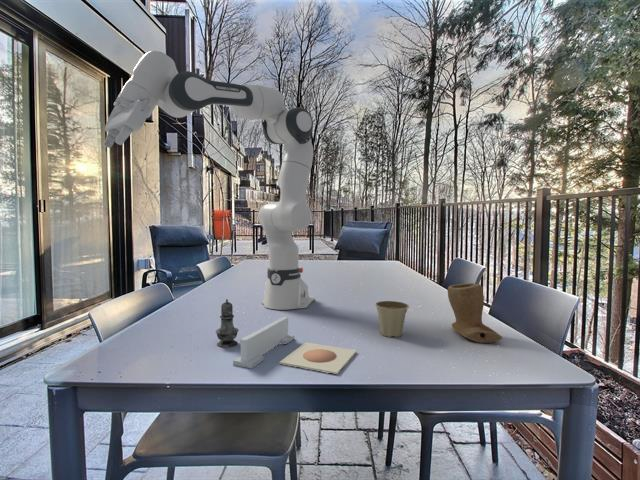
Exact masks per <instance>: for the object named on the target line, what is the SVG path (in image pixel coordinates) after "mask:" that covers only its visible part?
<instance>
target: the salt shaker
mask: <svg viewBox="0 0 640 480" xmlns="http://www.w3.org/2000/svg"><path fill="white" fill-rule="evenodd" d="M233 306H234V305H233V303H232V302H229V300H228V298H226V299H225V302H223V303H222V304H221V310H220V311H221V313H220V316H219V318H220V327H219V328H218V329H216V330H215V334H216V336H217V339H218V340H219V341H218V342H217V343H216V346H217V347H219V348H226V349H227V348H232V347H236V346H237V345H238V341H237V340H235V339H236V338H237V336H238V332H239V331H240V330H239V328H237V327H235V326H234V318H235V315H234V313H233V311H234V310H233V308H234V307H233Z"/></svg>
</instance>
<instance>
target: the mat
mask: <svg viewBox="0 0 640 480" xmlns="http://www.w3.org/2000/svg"><path fill="white" fill-rule="evenodd" d="M355 353H356V354H357V350H356V349H349V348H344V347H338V346H331V345H324V344H319V343H312V342H307V341H305V342H304V343H303V344H301V345H300V346H298V347H297V348H296V349H294V350H293V351H292V352H291V353H289V354H288V355H287V356H285V357H284V358H283V359H281V360H280V361H279V365H280V364H283V365H282V366H285V365H288V366H287V367H291V366H294V367H293V368H296V367H301V368H307V369H312V370H319V371H325V372H329V373H334V374H338V372H339V371H340V370H341V369H342V368H343V367H344V366H345V365H346V366H347V365H348V363H349V362H350V361H351V360H352V359H353V358H354V357H355V355H356V354H355ZM354 354H355V355H354ZM351 358H352V359H351ZM350 359H351V360H350ZM349 360H350V361H349ZM346 366H345V367H346ZM345 367H344V368H345ZM301 368H300V369H301ZM344 368H343V369H344ZM343 369H342V370H343ZM312 370H311V371H312ZM342 370H341V371H342ZM341 371H340V372H341ZM338 375H339V374H338Z"/></svg>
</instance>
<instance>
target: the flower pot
mask: <svg viewBox="0 0 640 480" xmlns="http://www.w3.org/2000/svg"><path fill="white" fill-rule="evenodd" d="M409 306H410V305H409V304H407V303H405V302H401V301H396V300H383V301H378V302H375V307H376V309H377V313H378V322H379V325H378V326H379V333H380V335H382V336H385V337H389V338H392V337H396V338H399V337H401V336H402V335H403V330H404V325H405V319H406V314H407V311H408V309H409Z"/></svg>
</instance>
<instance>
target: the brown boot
mask: <svg viewBox="0 0 640 480" xmlns="http://www.w3.org/2000/svg"><path fill="white" fill-rule="evenodd" d="M447 297H448V302H449V304H450V306H451V309H452V311H453V315H454V317H455V321H454V322H452V323H451V328H452V329H453V330H454V331H456V332H457V333H458V334H460V335H461V336H463V338H466V339H468V340H470V341H473V342H476V343H482V344H487V343H494V342H495V343H496V342H499V341H501V340H502V339H503V336H502V335H500V334H499V332H496V330H495V331H494V329H492V328H490V327H489V326H487V325H485V324H484V323H483V320H482V319H483V317H482V316H483V310H484V306H485V295H484V288H483V287H482V285H481V284H480V283H472V282H468V283H467V282H466V283H459V284H458V283H457V284H451V285H449V286H448V287H447Z"/></svg>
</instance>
